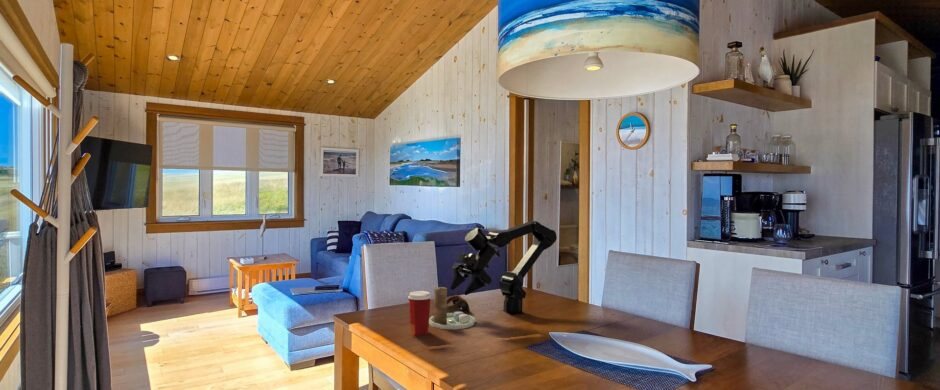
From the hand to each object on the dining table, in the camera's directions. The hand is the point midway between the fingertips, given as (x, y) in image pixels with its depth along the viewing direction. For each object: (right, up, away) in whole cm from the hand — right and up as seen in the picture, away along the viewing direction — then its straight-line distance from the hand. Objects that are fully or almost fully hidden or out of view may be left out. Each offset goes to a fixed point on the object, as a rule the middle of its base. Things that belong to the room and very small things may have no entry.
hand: (457, 292), depth 180 cm
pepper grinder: (-6, -10, -4) cm, 13 cm away
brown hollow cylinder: (0, -11, +13) cm, 17 cm away
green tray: (-2, -11, -2) cm, 12 cm away
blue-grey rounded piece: (0, -10, +1) cm, 10 cm away
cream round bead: (+2, -10, -2) cm, 11 cm away
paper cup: (-12, -12, -14) cm, 22 cm away
